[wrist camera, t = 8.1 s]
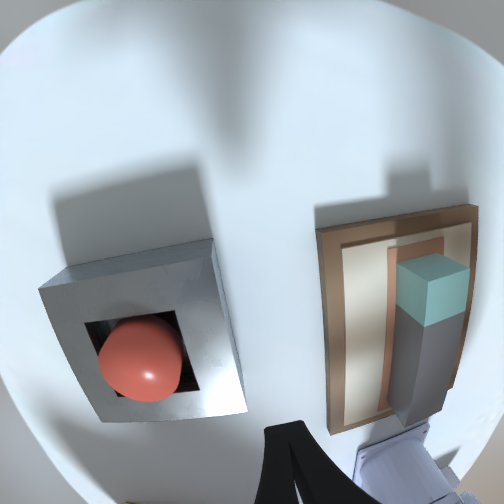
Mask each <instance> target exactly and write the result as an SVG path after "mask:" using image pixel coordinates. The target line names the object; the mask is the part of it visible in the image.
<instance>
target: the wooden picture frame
mask: <svg viewBox="0 0 504 504" xmlns="http://www.w3.org/2000/svg"><path fill="white" fill-rule="evenodd" d="M315 230H316V239H317V249H318V259H319V270H320V281H321V294H322V307H323V322H324V340H325V362H326V394H327V429H328V431H329V433H330V435H334V434H337V433H341V432H344V431H347V430H350V429H354V428H357V427H360V426H363V425H366V424H369V423H371V422H374V421H377V420H380V419H382V418H385V417H388V416H390V415H393V414H395V412H394V410H393V409H392V407H391V406H390V405H389V403H388V402H387V394H388V386H389V379H390V371H391V361H392V351H393V340H394V326H395V306H396V263H398V262H402V261H406V260H410V259H414V258H418V257H422V256H426V255H430V254H433V253H439V254H441V255H443V256H445V257H448V258H450V259H452V260H454V261H456V262H458V263H460V264H463V265H465V266H467V267H469V268H470V276H469V286H468V294H467V302H466V309H465V315H464V321H463V327H462V333H461V338H460V343H459V347H458V352H457V356H456V361H455V365H454V369H453V373H452V376H451V380H450V384H449V387H448V390H449V389H451V388H453V384H454V381H455V377H456V374H457V370H458V366H459V363H460V359H461V354H462V350H463V346H464V341H465V337H466V332H467V327H468V321H469V316H470V310H471V303H472V296H473V289H474V280H475V271H476V260H477V244H478V206H476V205H471V204H466V205H459V206H453V207H447V208H440V209H434V210H428V211H422V212H416V213H410V214H404V215H397V216H391V217H385V218H379V219H373V220H367V221H362V222H356V223H350V224H344V225H338V226H332V227H326V228H321V229H315Z"/></svg>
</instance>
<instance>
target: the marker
mask: <svg viewBox="0 0 504 504" xmlns="http://www.w3.org/2000/svg"><path fill="white" fill-rule="evenodd" d="M469 276H470V268H469V267H467V266H465V265H463V264H460V263H458V262H456V261H454V260H452V259H450V258H448V257H445V256H443V255H441V254H439V253H433V254H430V255H426V256H422V257H418V258H414V259H410V260H406V261H402V262H398V263H396V306H395V326H394V340H393V351H392V361H391V371H390V379H389V386H388V394H387V402H388V403H389V405H390V406H391V407H392V409H393V410H394V412H395V413H396V415H397V416H398V418H399V419H400V421H401V422H402V424H403V425H404V427H407V426H410V425H412V424H414V423H416V422H419V421H421V420H423V419H425V418H427V417H429V416H431V415H433V414H435V413H437V412H439V411H441V410H442V407H443V404H444V401H445V397H446V394H447V391H448V387H449V384H450V380H451V376H452V373H453V369H454V365H455V361H456V356H457V352H458V347H459V343H460V338H461V333H462V327H463V321H464V315H465V309H466V302H467V294H468V286H469Z"/></svg>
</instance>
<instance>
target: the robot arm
mask: <svg viewBox="0 0 504 504" xmlns="http://www.w3.org/2000/svg"><path fill="white" fill-rule="evenodd" d="M429 428H430V425H429V423H426V424H423V425H421V426H419V427H417V428H415V429H412V430H410V431H408V432H406V433H403V434H401V435H399V436H396V437H394V438H391V439H389V440H386V441H384V442H381V443H378V444H376V445H373V446H370V447H367V448H364V449H362V450H360V451H359V452H358V455H357V461H356V467H355V473H354V478H353V481H352V480H351V479H350V478H349V477H348V476H346V475H345V474H344V473H343V472H342V471H341V470H340V469H339V468H338V467H337V466H336V465H335V463H334V462H333V461H332V460H331V459H330V458H329V457H328V456H327V454H326V453H325V452H324V451H323V450H322V448H321V447H320V446H319V444H318V443H317V442H316V440H315V439H314V438H313V436H312V435H311V433H310V432H309V430H308V428H307V427H306V425H305V423H304V421H302V420H298V421H294V422H289V423H285V424H280V425H275V426H269V427H266V428H265V429H264V436H265V448H264V460H263V466H262V472H261V478H260V483H259V487H258V491H257V495H256V499H255V502H254V504H299V502H298V498H297V493H296V488H295V483H296V486H297V488H298V491H299V494H300V496H301V499H302V502H303V504H463V502H462V501H461V499H460V498H459V496H458V495H457V494H456V492H455V491H453V489H452V488H451V486H450V484H449V483H448V481H447V480H446V478H445V477H444V475H443V474H442V472H441V471H440V469H439V468H438V466H437V465H436V463H435V462H434V460H433V459H432V457H431V456H430V454H429V453H428V451H427V450H426V448H425V447H424V445H423V444H424V441H425V439H426V436H427V433H428V431H429ZM294 480H295V482H294ZM460 496H461V497H462V499H463V501H464V504H480V502H479V501H478V500H477V498H476V497H475V495H474V494H473V493H472V492H463V493H462V494H461V495H460Z"/></svg>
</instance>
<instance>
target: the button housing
mask: <svg viewBox="0 0 504 504" xmlns="http://www.w3.org/2000/svg"><path fill="white" fill-rule="evenodd" d="M38 290H39V293H40V296H41V299H42V301H43V304H44V307H45V309H46V312H47V314H48V317H49V320H50V322H51V324H52V327H53V329H54V332H55V334H56V336H57V339H58V341H59V343H60V345H61V347H62V350H63V352H64V354H65V356H66V358H67V360H68V362H69V364H70V366H71V368H72V370H73V372H74V374H75V376H76V378H77V380H78V382H79V384H80V386H81V387H82V389H83V391H84V393H85V395H86V396H87V398H88V400H89V402H90V403H91V405H92V407H93V408H94V410H95V412H96V413H97V415H98V417H99V418H100V420H101V422H155V421H171V420H184V419H195V418H204V417H212V416H220V415H227V414H234V413H241V412H247V406H246V399H245V391H244V383H243V375H242V371H241V366H240V362H239V358H238V353H237V349H236V345H235V340H234V336H233V331H232V327H231V322H230V318H229V313H228V308H227V304H226V299H225V294H224V289H223V285H222V280H221V275H220V270H219V265H218V260H217V255H216V250H215V245H214V240H213V238H212V239H206V240H201V241H196V242H190V243H185V244H180V245H174V246H169V247H164V248H159V249H154V250H149V251H143V252H138V253H133V254H128V255H123V256H118V257H113V258H108V259H104V260H99V261H94V262H89V263H84V264H79V265H75V266H70V267H66V268H65V269H64V270H62V271H61V272H60V273H58V274H57V275H55V276H54V277H53V278H51V279H50V280H49V281H47V282H46V283H45V284H43V285H42V286H41V287H39V288H38ZM145 314H151V315H155V316H157V317H160V318H161V319H163V320H165V321H166V322H168V323H169V324H170V325H171V326H173V328H174V329H175V330H176V331H177V332H178V334H179V336H180V337H181V340H182V342H183V347H184V354H183V361H182V367H181V373H180V380H179V384H178V386H177V388H176V390H175V391H174V392H173V393H172V394H171V395H170V396H169V397H167V398H165V399H162V400H159V401H154V402H142V401H137V400H133V399H130V398H128V397H126V396H124V395H122V394H120V393H118V392H117V391H116V390H114V389H113V388H112V387H111V386H110V385H109V384H108V383H107V382H106V380H105V379H104V377H103V375H102V373H101V371H100V368H99V363H98V357H99V353H100V350H101V348H102V346H103V345H104V343H105V341H106V340H107V338H108V336H109V334H110V333H111V331H112V329H113V328H114V326H115V325H116V323H117V322H118V321H119V320H120V319H122V318H124V317H131V316H138V315H145Z"/></svg>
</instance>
